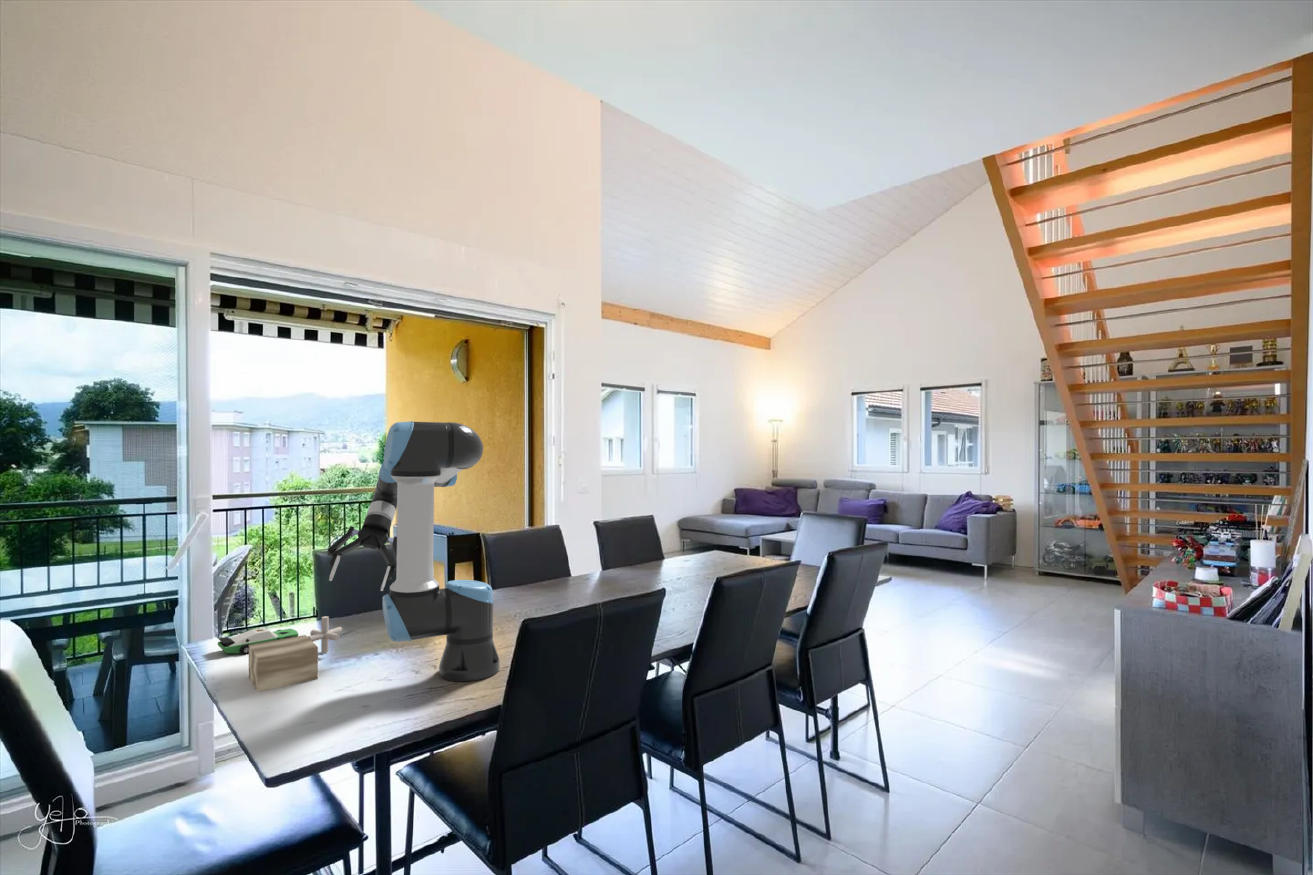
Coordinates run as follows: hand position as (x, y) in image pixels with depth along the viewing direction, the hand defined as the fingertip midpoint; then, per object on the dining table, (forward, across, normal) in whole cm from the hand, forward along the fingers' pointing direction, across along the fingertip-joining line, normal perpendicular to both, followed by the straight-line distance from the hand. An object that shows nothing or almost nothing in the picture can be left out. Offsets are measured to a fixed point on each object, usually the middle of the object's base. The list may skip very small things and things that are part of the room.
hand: (356, 583), depth 179 cm
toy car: (+10, +21, -31) cm, 39 cm away
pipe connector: (+13, +3, -18) cm, 23 cm away
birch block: (+26, +10, -6) cm, 28 cm away
